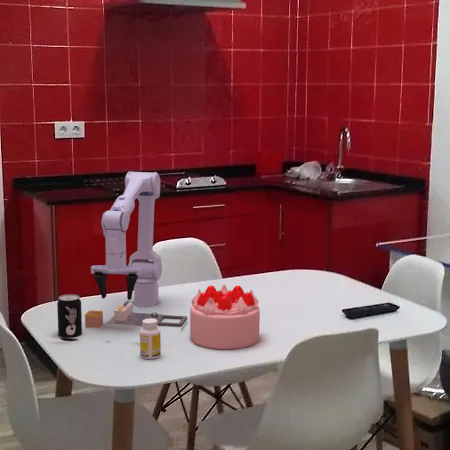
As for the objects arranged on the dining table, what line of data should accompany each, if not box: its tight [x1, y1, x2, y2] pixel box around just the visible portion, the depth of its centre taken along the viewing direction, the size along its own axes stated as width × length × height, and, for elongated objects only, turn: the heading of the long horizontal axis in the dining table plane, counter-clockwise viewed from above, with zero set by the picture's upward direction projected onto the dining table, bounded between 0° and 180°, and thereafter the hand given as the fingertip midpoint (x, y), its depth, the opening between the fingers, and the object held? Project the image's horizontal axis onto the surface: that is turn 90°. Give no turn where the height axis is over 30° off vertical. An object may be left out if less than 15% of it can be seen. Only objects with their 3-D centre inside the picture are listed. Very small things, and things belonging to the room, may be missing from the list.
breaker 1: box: [114, 306, 128, 321], centre depth 229 cm, size 4×3×4 cm
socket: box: [157, 314, 188, 332], centre depth 226 cm, size 8×8×2 cm
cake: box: [189, 284, 261, 350], centre depth 215 cm, size 20×20×14 cm
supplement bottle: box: [139, 319, 162, 360], centre depth 200 cm, size 5×5×10 cm
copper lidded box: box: [84, 310, 104, 329], centre depth 223 cm, size 4×4×5 cm
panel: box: [106, 312, 163, 327], centre depth 229 cm, size 12×14×2 cm
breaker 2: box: [118, 300, 134, 316], centre depth 234 cm, size 4×3×4 cm
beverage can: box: [56, 293, 83, 342], centre depth 214 cm, size 7×7×12 cm
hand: (116, 298), depth 219 cm, fingers open, 7 cm apart
